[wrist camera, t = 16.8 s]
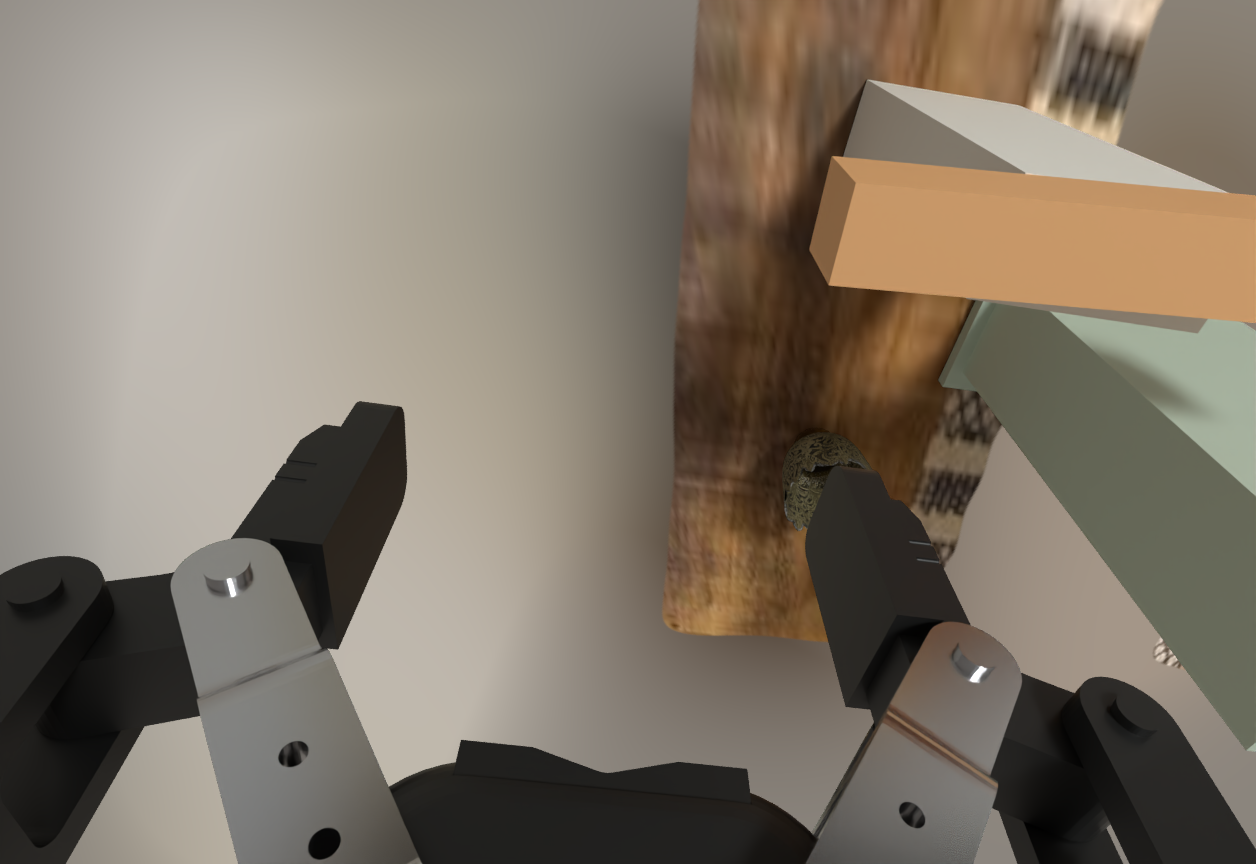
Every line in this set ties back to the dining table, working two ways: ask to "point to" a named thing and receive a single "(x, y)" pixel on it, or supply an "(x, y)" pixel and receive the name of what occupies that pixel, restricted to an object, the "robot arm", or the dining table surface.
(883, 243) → the bar
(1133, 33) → the dining table surface
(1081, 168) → the post
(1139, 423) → the stand
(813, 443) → the cup
